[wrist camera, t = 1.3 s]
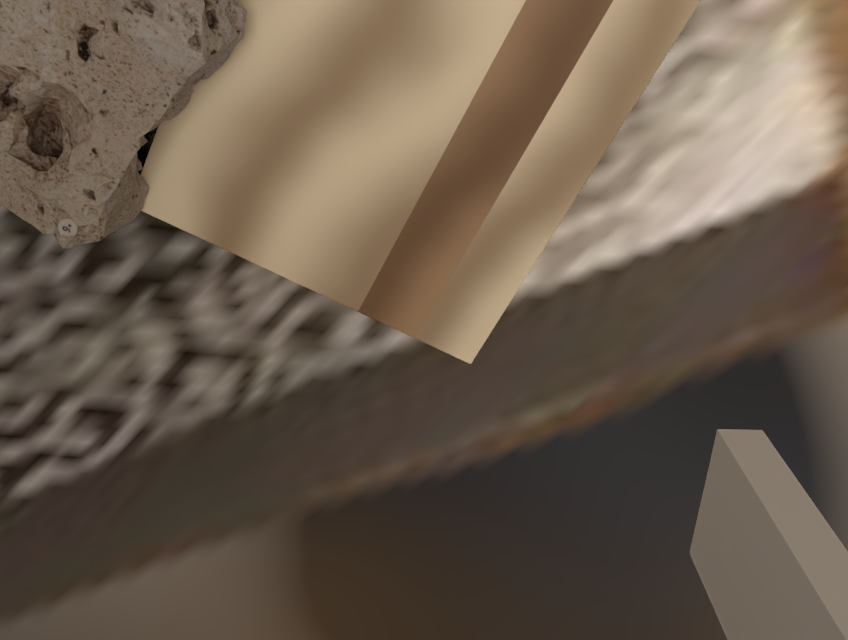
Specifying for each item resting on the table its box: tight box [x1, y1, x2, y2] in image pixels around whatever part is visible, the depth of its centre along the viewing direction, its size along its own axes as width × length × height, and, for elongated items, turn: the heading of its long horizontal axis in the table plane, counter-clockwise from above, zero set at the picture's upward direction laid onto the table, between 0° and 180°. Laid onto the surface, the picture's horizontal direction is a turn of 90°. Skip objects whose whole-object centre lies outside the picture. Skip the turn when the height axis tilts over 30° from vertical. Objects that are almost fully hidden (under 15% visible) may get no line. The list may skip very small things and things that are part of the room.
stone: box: [0, 0, 247, 249], centre depth 29 cm, size 13×6×10 cm
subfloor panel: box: [140, 0, 701, 364], centre depth 31 cm, size 17×20×1 cm
